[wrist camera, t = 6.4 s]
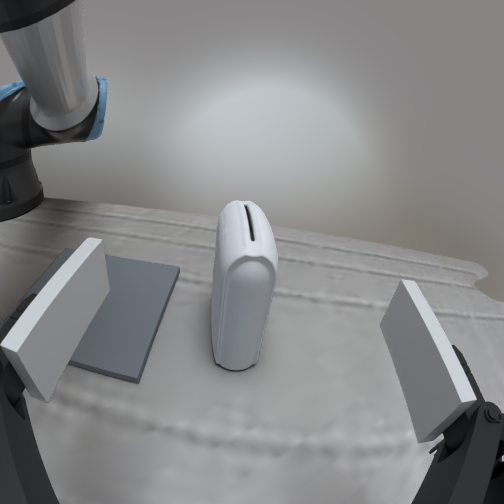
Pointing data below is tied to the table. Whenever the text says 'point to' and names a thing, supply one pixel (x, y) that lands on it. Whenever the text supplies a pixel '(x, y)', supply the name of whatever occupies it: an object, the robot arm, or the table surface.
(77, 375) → the table surface
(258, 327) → the photo printer
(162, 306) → the rubber mat
